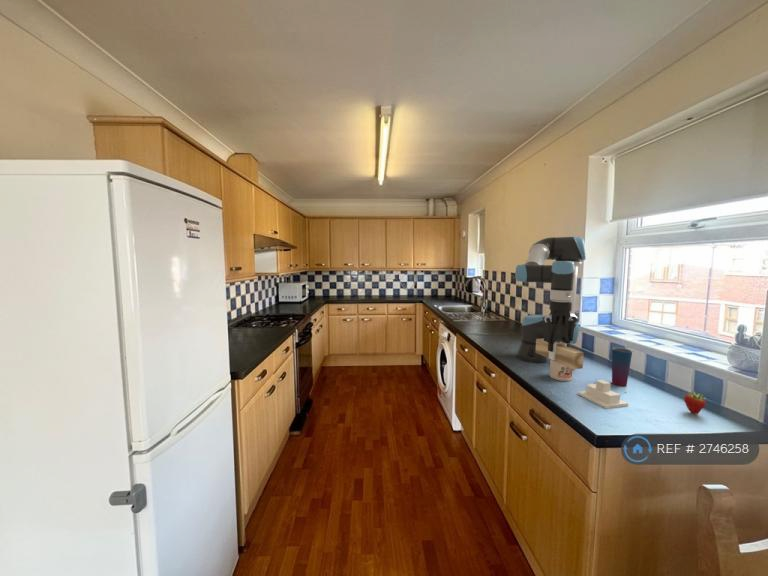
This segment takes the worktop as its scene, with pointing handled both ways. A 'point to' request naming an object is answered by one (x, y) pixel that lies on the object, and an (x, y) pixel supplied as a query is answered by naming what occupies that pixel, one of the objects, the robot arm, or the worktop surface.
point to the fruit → (694, 402)
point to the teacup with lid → (560, 371)
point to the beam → (561, 354)
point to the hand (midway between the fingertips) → (557, 358)
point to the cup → (620, 366)
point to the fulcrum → (602, 395)
